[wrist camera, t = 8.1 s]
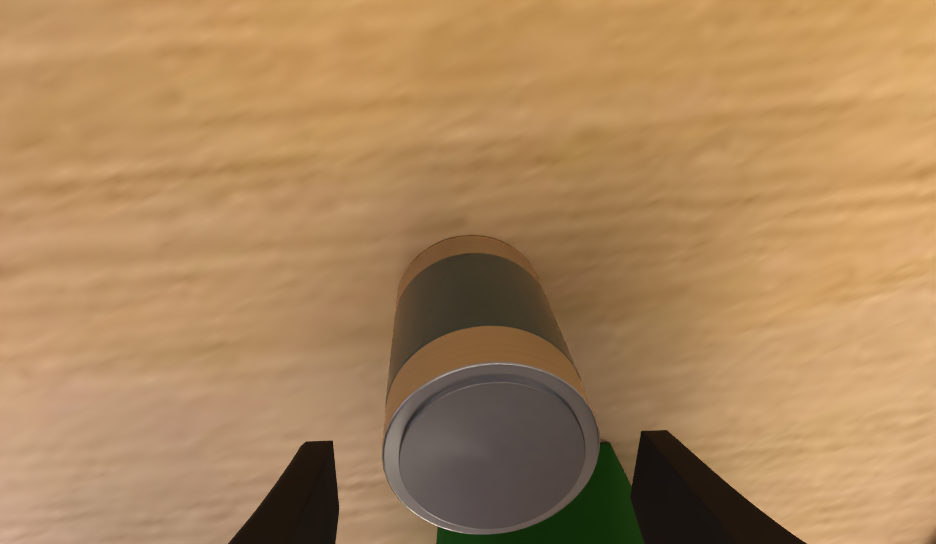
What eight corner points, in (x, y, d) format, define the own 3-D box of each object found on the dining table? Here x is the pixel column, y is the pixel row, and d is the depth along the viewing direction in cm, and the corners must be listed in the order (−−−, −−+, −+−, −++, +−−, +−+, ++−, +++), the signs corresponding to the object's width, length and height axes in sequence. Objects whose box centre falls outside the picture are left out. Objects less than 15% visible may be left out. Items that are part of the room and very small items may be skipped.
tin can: (536, 362, 22) (591, 537, 15) (398, 365, 22) (385, 546, 14) (546, 233, 20) (616, 362, 13) (394, 235, 20) (374, 368, 12)
